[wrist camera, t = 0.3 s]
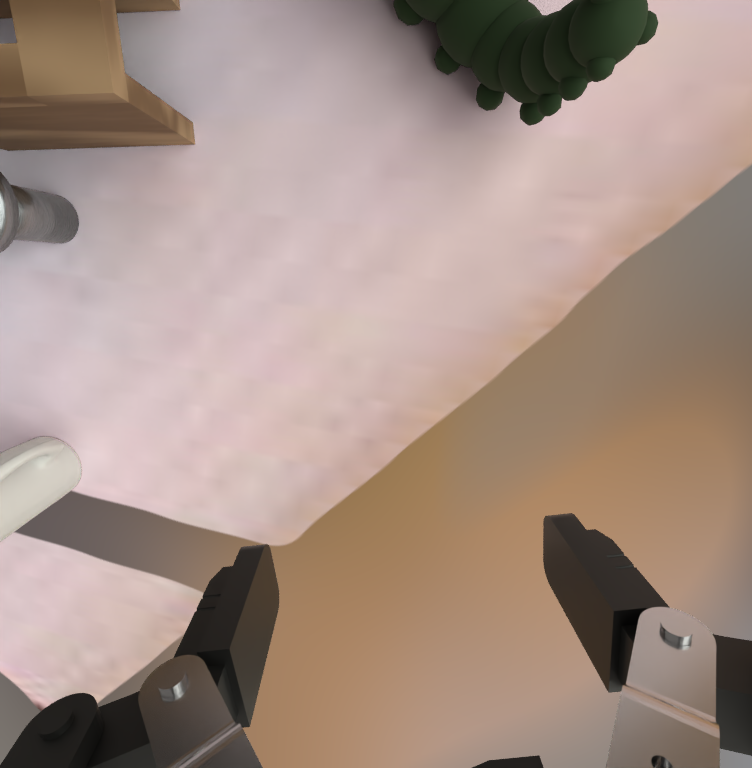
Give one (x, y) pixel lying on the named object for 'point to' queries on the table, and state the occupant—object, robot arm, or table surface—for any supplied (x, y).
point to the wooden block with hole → (78, 80)
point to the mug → (34, 480)
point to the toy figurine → (532, 46)
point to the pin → (34, 216)
